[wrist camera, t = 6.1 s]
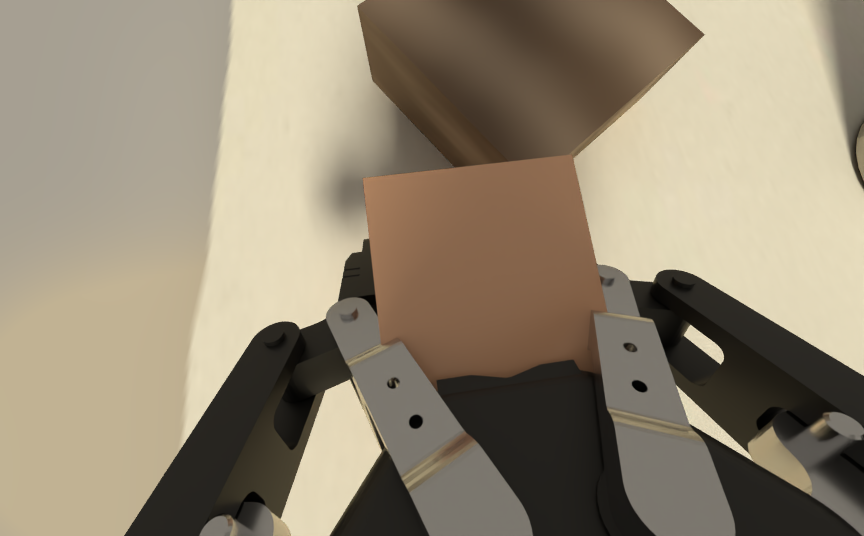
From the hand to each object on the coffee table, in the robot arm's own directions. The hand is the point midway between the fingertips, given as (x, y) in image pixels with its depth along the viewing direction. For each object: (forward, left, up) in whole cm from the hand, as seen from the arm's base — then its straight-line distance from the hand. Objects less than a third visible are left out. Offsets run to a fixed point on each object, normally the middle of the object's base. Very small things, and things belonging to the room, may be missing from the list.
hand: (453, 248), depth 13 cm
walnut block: (-10, -6, -5) cm, 13 cm away
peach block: (+1, +2, -5) cm, 5 cm away
